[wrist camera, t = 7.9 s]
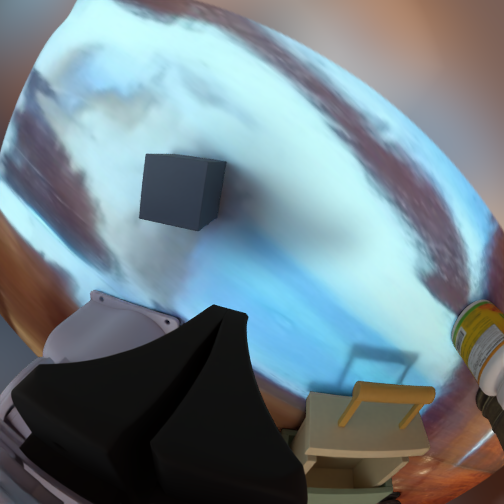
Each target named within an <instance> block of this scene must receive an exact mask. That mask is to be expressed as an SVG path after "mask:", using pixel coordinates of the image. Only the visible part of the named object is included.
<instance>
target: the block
mask: <svg viewBox="0 0 504 504" xmlns="http://www.w3.org/2000/svg"><path fill="white" fill-rule="evenodd" d="M225 167H226V161H220V160H214V159H207V158H200V157H193V156H185V155H177V154H146V157H145V164H144V173H143V181H142V191H141V202H140V215H139V218H140V219H144V220H148V221H153V222H158V223H162V224H167V225H172V226H176V227H181V228H186V229H190V230H195V231H199V230H201V229H202V228H203V227H205V226H206V225H208V224H209V223H210V222H212V221H213V220H214V219H216V218H217V216H218V209H219V203H220V197H221V190H222V184H223V178H224V173H225Z"/></svg>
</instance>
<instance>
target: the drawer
mask: <svg viewBox="0 0 504 504" xmlns="http://www.w3.org/2000/svg"><path fill="white" fill-rule="evenodd" d="M352 396H353V397H349V396H340V395H333V394H325V393H318V392H312V391H310V393H309V395H308V397H307V399H306V418H305V419H304V421H303V423H302V425H301V427H300V428H299V430H298V432H297V434H296V435H295V437H294V439H293V441H292V442H291V444H290V446H289V447H290V449H291V450H292V452H293V453H294V454H295V456H296V457H297V458H298V459H299V461H300V462H301V463H302V465H303V467H304V471H305V476H306V482H307V487H311V488H332V489H358V488H378V487H380V486H381V485H382V484H383V483H385V482H386V481H387V480H388V479H390V478H391V477H392V476H393V475H394V474H396V473H397V472H398V471H399V470H400V469H401V468H403V467H404V466H405V465H406V464H407V463H408V462H409V458H408V456H418V455H424V454H425V453H426V452H427V451H428V450H429V449H430V445H429V441H428V438H427V435H426V432H425V428H424V425H423V422H422V419H421V416H420V413H419V411H420V409H421V408H422V407H423V406H424V404H430V403H432V402H433V400H434V398H435V389H434V387H432V386H410V385H395V384H384V383H373V382H364V381H357V382H356V384H355V385H354V388H353V394H352Z"/></svg>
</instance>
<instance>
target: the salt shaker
mask: <svg viewBox="0 0 504 504" xmlns="http://www.w3.org/2000/svg"><path fill="white" fill-rule="evenodd" d="M399 495H400V493H399V492H394V493H391V494H389V495H388V496H387V497H385V498H384V499H382V500H381V501H379V502H378V504H401V503H400V501H398V500H395V499H396V498H397V497H398V496H399Z"/></svg>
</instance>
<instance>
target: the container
mask: <svg viewBox="0 0 504 504" xmlns="http://www.w3.org/2000/svg"><path fill="white" fill-rule="evenodd" d="M476 402H477V407H478V408H479V410H481V411H482V415H483V416H484V417H485V418H487V419H488V420H489V422H490V424H491V426H492V430H493V432H494V433H496V435H497V437H498V439H499V441H500V444H501V446H502V448H503V451H504V410H503V409H502V407H501V405H500V404H499V402H498V400H497V396H488V395H486V394H485V393H484V392H483V391H482V390H481V388H480V389H479V391H478V394H477V397H476Z"/></svg>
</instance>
